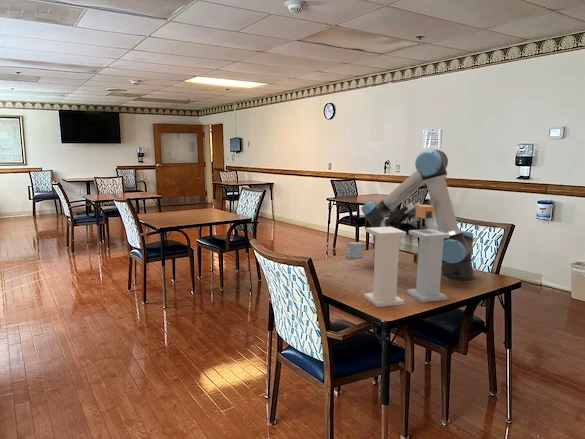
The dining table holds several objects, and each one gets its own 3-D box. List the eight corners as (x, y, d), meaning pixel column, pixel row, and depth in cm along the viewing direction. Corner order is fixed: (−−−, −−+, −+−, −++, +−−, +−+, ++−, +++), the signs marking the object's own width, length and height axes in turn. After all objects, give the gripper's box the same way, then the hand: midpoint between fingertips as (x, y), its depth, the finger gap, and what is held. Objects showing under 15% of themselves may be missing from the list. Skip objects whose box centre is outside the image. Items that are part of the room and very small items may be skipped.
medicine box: (359, 256, 253) (360, 241, 252) (362, 258, 249) (363, 243, 248) (346, 256, 252) (347, 242, 250) (349, 258, 247) (350, 244, 246)
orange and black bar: (410, 211, 201) (411, 201, 200) (433, 218, 184) (434, 206, 183) (400, 212, 199) (401, 201, 198) (423, 218, 182) (424, 206, 182)
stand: (387, 293, 190) (390, 226, 185) (403, 304, 177) (408, 232, 172) (362, 295, 187) (365, 227, 181) (377, 307, 174) (381, 234, 169)
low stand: (428, 289, 196) (432, 229, 192) (446, 299, 184) (452, 235, 179) (405, 291, 193) (408, 230, 188) (422, 302, 180) (427, 236, 175)
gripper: (407, 229, 214) (433, 212, 193) (378, 231, 210) (401, 213, 188) (403, 215, 217) (429, 197, 196) (375, 216, 212) (397, 197, 191)
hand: (415, 205), depth 192 cm, fingers closed on orange and black bar, 3 cm apart
